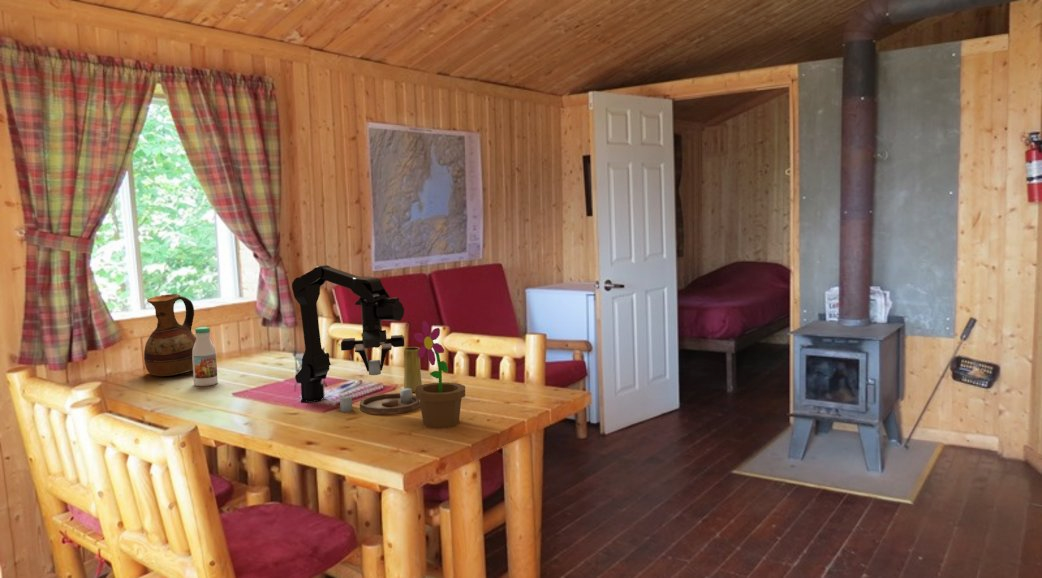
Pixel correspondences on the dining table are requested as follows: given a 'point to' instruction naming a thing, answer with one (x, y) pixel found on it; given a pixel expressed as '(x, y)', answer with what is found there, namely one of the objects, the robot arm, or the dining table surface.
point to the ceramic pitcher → (170, 338)
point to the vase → (412, 368)
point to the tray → (387, 404)
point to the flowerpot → (437, 387)
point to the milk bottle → (204, 359)
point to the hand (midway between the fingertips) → (374, 370)
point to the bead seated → (406, 395)
